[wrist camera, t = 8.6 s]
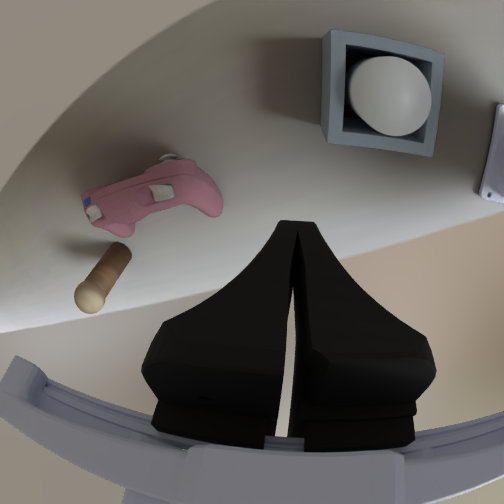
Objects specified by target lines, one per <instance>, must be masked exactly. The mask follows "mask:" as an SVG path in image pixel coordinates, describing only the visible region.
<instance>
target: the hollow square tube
mask: <svg viewBox="0 0 504 504" xmlns="http://www.w3.org/2000/svg"><path fill="white" fill-rule="evenodd" d="M346 50H347V51H354V52H361V53H367V54H373V55H379V56H392V57H398V58H402V59H404V60H406V61H408V62H410V63H412V64H413V65H414V66H416V67H417V68H418V69H419V70H420V71H421V73H422V74H423V75H424V77H425V78H426V80H427V82H428V85H429V88H430V91H431V99H432V100H431V109H430V112H429V115H428V117H427V119H426V121H425V122H424V123H423V125H422V126H421V127H420V128H418V129H417V130H416V131H414V132H412V133H410V134H407V135H403V136H390V135H386V134H383V133H380V132H378V131H377V130H375V129H374V128H372V127H371V126H370V125H369V124H367V123H366V122H365V121H364V120H361V119H353V118H344V117H343V112H344V93H345V62H346ZM443 67H444V53H441V52H438V51H435V50H431V49H428V48H425V47H421V46H417V45H414V44H410V43H406V42H402V41H398V40H393V39H389V38H384V37H379V36H373V35H368V34H362V33H355V32H348V31H340V30H330V31H329V32H328V33H327V34H326V35H325V36H324V37H323V38H322V97H321V123H320V126H321V128H322V131H323V133H324V136H325V138H326V140H327V143H329V144H340V145H350V146H360V147H368V148H376V149H383V150H390V151H397V152H403V153H409V154H415V155H421V156H426V157H433V151H434V146H435V140H436V134H437V127H438V120H439V112H440V104H441V94H442V83H443Z"/></svg>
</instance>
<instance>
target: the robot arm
mask: <svg viewBox="0 0 504 504" xmlns="http://www.w3.org/2000/svg"><path fill="white" fill-rule="evenodd" d="M488 193H489V195H487V194H488ZM479 196H480V197H481V198H482V199H485V200H490V201H495V202H499V203H504V104H501V103H500V104H498V105H497V108H496V116H495V122H494V129H493V134H492V140H491V145H490V150H489V154H488V159H487V163H486V167H485V171H484V175H483V179H482V183H481V186H480V190H479ZM292 291H293V293H294V311H295V329H296V347H295V362H294V375H293V387H292V397H291V408H290V417H289V426H288V435H287V437H276V436H275V431H276V425H277V419H278V413H279V406H280V399H281V391H282V384H283V376H284V366H285V354H286V353H285V352H286V336H287V320H288V314H289V308H290V302H291V297H292ZM141 372H142V374H143V376H144V379H145V380H146V382H147V384H148V385H149V387H150V388H151V390H152V391H153V393H154V394H155V396H156V397H157V398H158V403H157V405H156V408H155V412H154V415H153V416H151V415H148V414H144V413H140V412H137V411H133V410H130V409H127V408H124V407H121V406H118V405H114V404H111V403H108V402H105V401H103V400H100V399H97V398H94V397H91V396H89V395H86V394H84V393H81V392H79V391H76V390H74V389H71V388H69V387H67V386H64V385H62V384H60V383H57V382H55V381H53V380H51V379H49V378H48V377H47V376H46V375H45V373H44V372H43V371H42V370H41V369H40V368H39V367H37V366H36V365H35V364H33V363H31V362H29V361H27V360H25V359H23V358H21V357H19V356H15V357H14V359H13V361H12V362H11V364H10V366H9V367H8V369H7V371H6V373H5V375H4V376H3V378H2V380H1V382H0V417H2V418H3V419H5V420H6V421H7V422H8V423H10V424H11V425H12V426H14V427H15V428H16V429H18V430H19V431H21V432H22V433H24V434H25V435H26V436H28V437H30V438H31V439H32V440H34V441H36V442H37V443H39V444H40V445H42V446H43V447H45V448H46V449H48V450H50V451H51V452H53V453H55V454H57V455H58V456H60V457H62V458H64V459H66V460H67V461H69V462H71V463H73V464H75V465H77V466H79V467H80V468H82V469H84V470H87V471H88V472H91V473H93V474H95V475H97V476H99V477H101V478H104V479H106V480H108V481H111V482H113V483H115V484H118V485H120V486H123V487H125V488H126V490H125V493H124V497H123V500H122V503H121V504H433V503H437V502H440V501H443V500H446V499H450V498H453V497H456V496H458V495H461V494H464V493H466V492H469V491H472V490H474V489H477V488H479V487H482V486H484V485H486V484H489V483H491V482H493V481H495V480H498V479H500V478H502V477H504V411H503V412H499V413H496V414H493V415H490V416H486V417H482V418H479V419H475V420H471V421H468V422H463V423H460V424H455V425H450V426H446V427H440V428H435V429H429V430H423V431H417V432H415V430H414V422H413V416H414V415H416V412H417V408H416V400H417V399H418V398H419V397H420V396H421V394H422V393H423V392H424V391H425V390H426V389H427V388H428V387H429V385H430V384H431V383H432V381H433V380H434V378H435V375H436V367H435V363H434V359H433V355H432V351H431V348H430V346H429V343H428V341H427V338H426V337H425V336H424V335H422V334H421V333H419V332H418V331H416V330H415V329H413V328H411V327H410V326H408V325H407V324H405V323H404V322H402V321H401V320H399V319H398V318H397V317H395V316H394V315H393V314H391V313H390V312H389V311H387V310H386V309H385V308H384V307H382V306H381V305H380V304H379V303H377V302H376V301H375V300H374V299H373V298H372V297H371V296H370V295H368V294H367V293H366V292H365V291H364V290H363V289H362V288H361V287H360V286H359V285H358V284H357V283H356V282H355V281H354V279H352V277H351V276H350V275H349V274H348V272H347V271H346V270H345V269H344V267H343V266H342V265H341V264H340V262H339V261H338V260H337V258H336V257H335V255H334V254H333V252H332V251H331V249H330V248H329V246H328V245H327V243H326V242H325V240H324V238H323V237H322V235H321V233H320V231H319V229H318V227H317V225H316V224H315V223H314V222H306V221H289V220H281V221H279V222H278V224H277V226H276V228H275V230H274V232H273V233H272V235H271V237H270V238H269V240H268V241H267V242H266V244H265V245H264V247H263V248H262V249H261V251H260V252H259V253H258V254H257V255H256V257H255V258H254V259H253V260H252V261H251V262H250V263H249V265H248V266H247V267H246V268H245V269H244V270H243V271H242V272H241V273H240V274H238V275H237V276H236V277H235V278H234V279H233V280H232V281H231V282H229V283H228V284H227V285H226V286H224V287H223V288H222V289H221V290H219V291H218V292H217V293H215V294H214V295H212V296H211V297H209V298H208V299H206V300H205V301H203V302H202V303H200V304H198V305H197V306H195V307H193V308H191V309H189V310H188V311H185V312H183V313H181V314H179V315H177V316H175V317H173V318H171V319H169V320H167V321H164V322H163V324H162V325H161V327H160V329H159V330H158V332H157V334H156V335H155V337H154V339H153V341H152V343H151V345H150V347H149V350H148V352H147V354H146V357H145V359H144V362H143V364H142V369H141ZM182 449H185V450H182ZM187 450H188V451H187Z"/></svg>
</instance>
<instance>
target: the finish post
mask: <svg viewBox="0 0 504 504" xmlns="http://www.w3.org/2000/svg"><path fill="white" fill-rule="evenodd" d="M131 258H132V254H131V252H130V250H129V248H128V247H127V246H125V245H124V244H122V243H119V242H115V243H113V244H112V245H111V246H110V248H109V249H108V250H107V251H106V253H105V254H104V255H103V257H102V258H101V259H100V260H99V262H98V263H97V264H96V266H95V267H94V268H93V270H92V271H91V272H90V274H89V275H88V276H87V278H86V279H85V281H83V282H82V283H80V284H79V285H78V286H77V288H76V290H75V294H74V299H75V303H76V305H77V307H78V308H79V309H80V310H81V311H83V312H84V313H88V314H94V313H96V312H98V311H100V310H101V309H102V307H103V306H104V303H105V298H106V297H107V295H108V293H109V292H110V290H111V289H112V287H113V286H114V284H115V283H116V281H117V279H118V278H119V276H120V275H121V273H122V272H123V270H124V269H125V267H126V266H127V264H128V263H129V261H130V260H131Z"/></svg>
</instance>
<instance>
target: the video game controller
mask: <svg viewBox="0 0 504 504" xmlns="http://www.w3.org/2000/svg"><path fill="white" fill-rule="evenodd" d="M176 158H177V155H174V154H165V155H163V156H162V157H161V158H159V161H160V162H162V163H160V164H157V165H154V166H152V167H150V168H147V169H146V170H145V171H144V172H143V174H142V175H139V176H136V177H132V178H129V179H126V180H123V181H120V182H117V183H115V184H111V185H106V186H101V187H97V188H94V189H90V190H87V191H85V192H84V193H83V194H82V195H81V196H82V201H83V206H84V211H85V214H86V216H87V217H88V219H89V221H90V222H89V223H91V224H92V225H93V226H95V227H99V228H103V229H105V230H107V231H109V232H111V233H113V234H114V235H117V236H119V237H130V236H131V235H132V234H133V233H134V230H135V222H137V221H139V220H141V219H143V218H144V217H146V216H147V215H149V214H150V213H153V212H157V211H161V210H165V209H168V208H171V207H174V206H177V205H180V204H189V205H191V206H193V207H195V208H197V209H198V210H200V211H201V212H203V213H204V214H205V215H207V216H209V217H214V218H216V217H218V216H220V214H221V213H222V210H223V199H222V195H221V193H220V191H219V189H218V187H217V186H216V184H215V182H214V181H213V180H212V179H211V178H210V177H209V175H208V174H206V173H205V172H204V171H203V170H201V169H200V168H199V167H197V166H196V162H195V161H194V160H191V159H181V160H174V159H176Z"/></svg>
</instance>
